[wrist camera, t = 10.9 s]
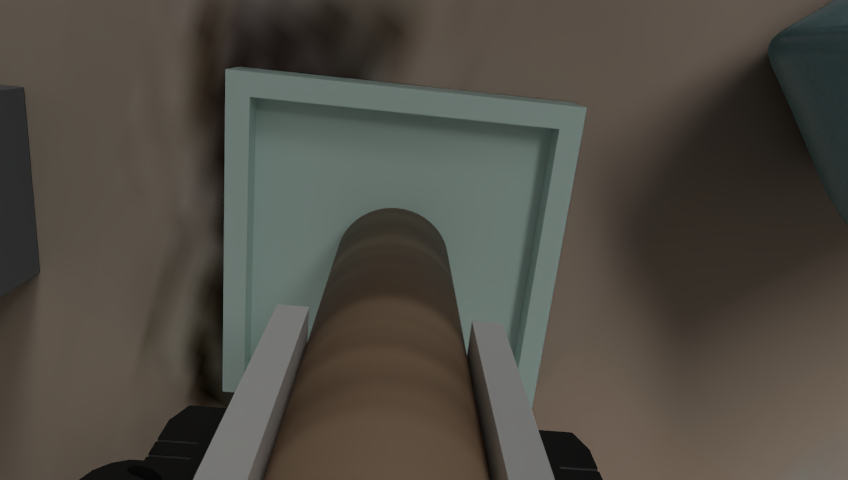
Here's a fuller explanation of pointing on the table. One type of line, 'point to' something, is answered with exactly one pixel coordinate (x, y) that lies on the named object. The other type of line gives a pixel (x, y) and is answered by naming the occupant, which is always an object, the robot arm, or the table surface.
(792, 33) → the flower pot
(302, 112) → the tray
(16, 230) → the pen cup
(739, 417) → the table surface
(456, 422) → the dowel
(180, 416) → the robot arm
